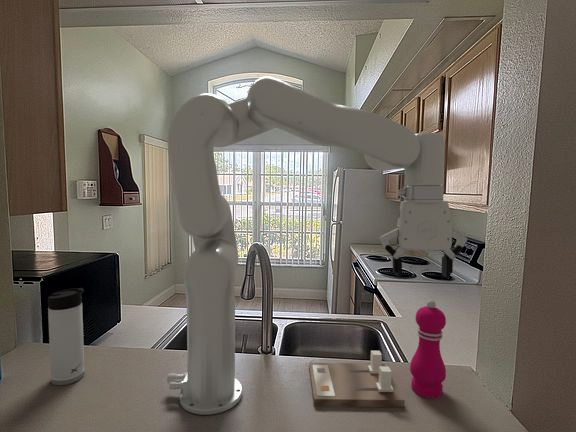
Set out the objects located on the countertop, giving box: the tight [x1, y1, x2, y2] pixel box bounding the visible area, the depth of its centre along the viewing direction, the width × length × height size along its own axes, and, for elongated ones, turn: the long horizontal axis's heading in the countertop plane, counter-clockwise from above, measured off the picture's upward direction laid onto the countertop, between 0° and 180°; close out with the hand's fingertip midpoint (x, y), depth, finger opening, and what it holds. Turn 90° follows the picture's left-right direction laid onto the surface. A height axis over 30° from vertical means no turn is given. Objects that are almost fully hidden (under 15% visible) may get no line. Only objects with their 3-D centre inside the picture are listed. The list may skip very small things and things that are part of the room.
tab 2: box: [376, 365, 393, 392], centre depth 71 cm, size 3×2×4 cm
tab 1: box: [368, 350, 383, 374], centre depth 78 cm, size 3×2×4 cm
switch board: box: [308, 362, 405, 408], centre depth 75 cm, size 18×14×2 cm
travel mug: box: [47, 287, 85, 386], centre depth 75 cm, size 6×7×20 cm
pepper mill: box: [409, 299, 447, 399], centre depth 73 cm, size 7×7×20 cm
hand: (421, 276), depth 72 cm, fingers open, 9 cm apart
